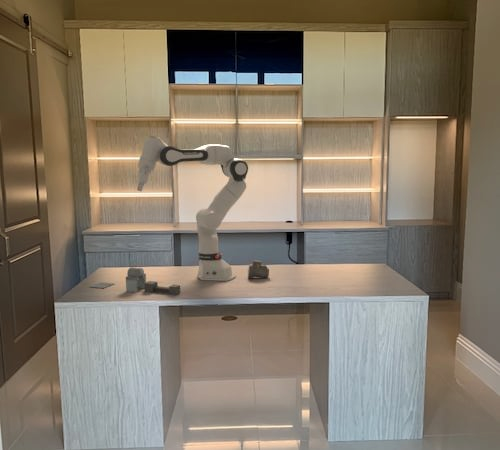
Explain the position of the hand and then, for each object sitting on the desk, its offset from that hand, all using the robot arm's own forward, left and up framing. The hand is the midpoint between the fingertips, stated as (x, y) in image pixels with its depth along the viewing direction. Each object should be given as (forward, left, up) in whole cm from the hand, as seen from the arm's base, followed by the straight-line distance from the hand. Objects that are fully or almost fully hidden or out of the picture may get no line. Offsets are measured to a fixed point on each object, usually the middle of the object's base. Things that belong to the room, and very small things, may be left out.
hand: (139, 190), depth 235 cm
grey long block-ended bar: (-18, +11, -51) cm, 55 cm away
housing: (-3, +11, -51) cm, 52 cm away
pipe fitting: (-55, -32, -51) cm, 82 cm away
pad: (+19, +11, -51) cm, 55 cm away
